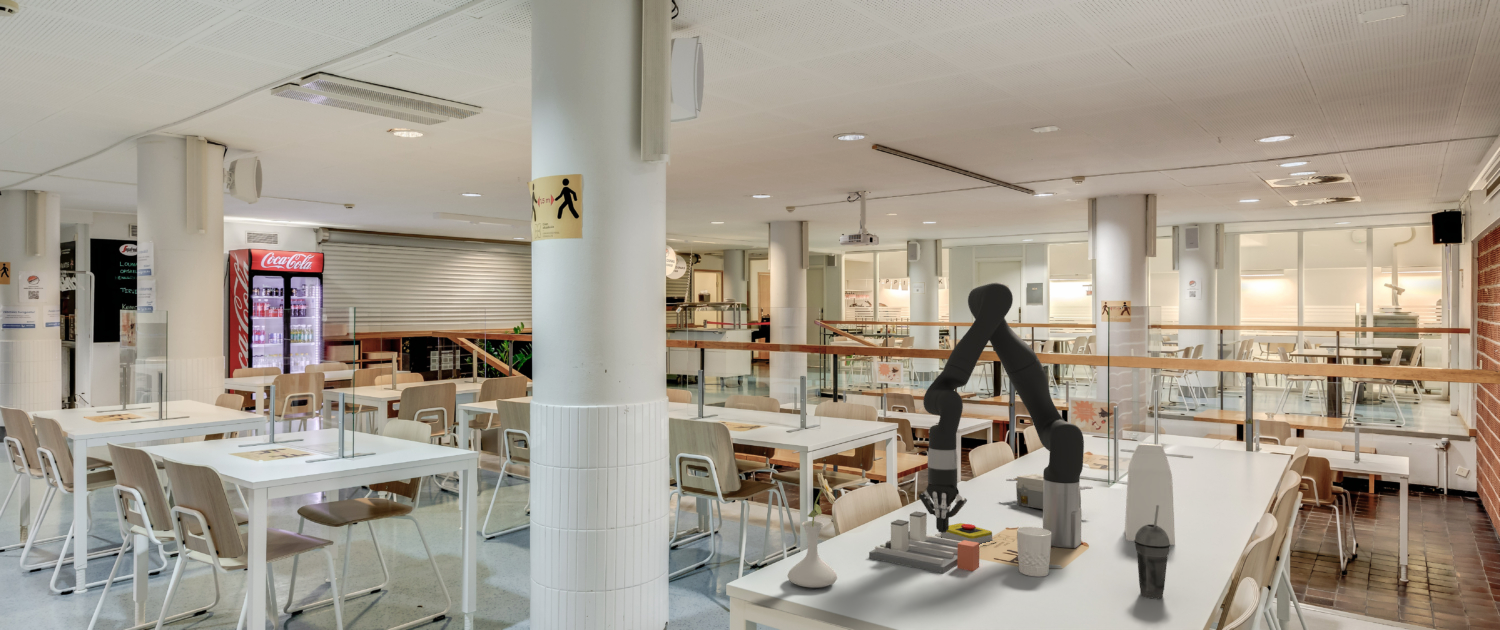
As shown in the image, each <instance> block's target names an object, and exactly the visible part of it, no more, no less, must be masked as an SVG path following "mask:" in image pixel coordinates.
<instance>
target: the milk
mask: <svg viewBox="0 0 1500 630" xmlns="http://www.w3.org/2000/svg"><path fill="white" fill-rule="evenodd" d="M1172 475H1173V473H1172V471H1171V467H1170V464H1169V460H1168V456H1167V454H1166V452H1165V450H1164V447H1163V445H1162V444H1153V443H1152V444H1151V443H1149V444H1148V443H1138V444H1137V446H1136V448H1135V449H1134V451H1133V453H1132V456H1131V459H1130V461H1129V463H1128V467H1127V485H1126V486H1127V487H1126V501H1125V502H1126V503H1125V517H1124V518H1125V519H1124V521H1125V522H1124V535H1125V538H1126V541H1131V542H1134V540H1135V536H1136V533H1137V531H1138V530H1139V529H1140V528H1141V527H1143V526H1145V525H1154V521H1155V513H1156V505H1159V510H1158V518H1157V526H1159V527H1160V528H1162V529H1163V530H1164V531H1165V532H1166V534H1167V535H1168V538H1169V542H1170V546H1173V545H1174V546H1175V545H1176V536H1175V532H1176V531H1175V530H1176V529H1175V511H1174V509H1175V507H1174V490H1173V489H1174V488H1173V487H1174V486H1173V476H1172Z"/></svg>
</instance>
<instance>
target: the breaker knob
mask: <svg viewBox="0 0 1500 630" xmlns="http://www.w3.org/2000/svg"><path fill="white" fill-rule="evenodd" d="M909 531H910V520H909V521H908V520H903V519H896V520H893V521H891V522H890V540H891V549H894V550H899V551H904V552H906V551H908V544H909Z"/></svg>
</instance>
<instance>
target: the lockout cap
mask: <svg viewBox="0 0 1500 630" xmlns="http://www.w3.org/2000/svg"><path fill="white" fill-rule="evenodd" d="M956 567H957V569H959V570H965V571H969V572H974V571H976V570H978V569H979V568H980V547H979V543H977V542H971V541H966V540H963V541H961V542H960V543H958V555H957V565H956Z"/></svg>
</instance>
